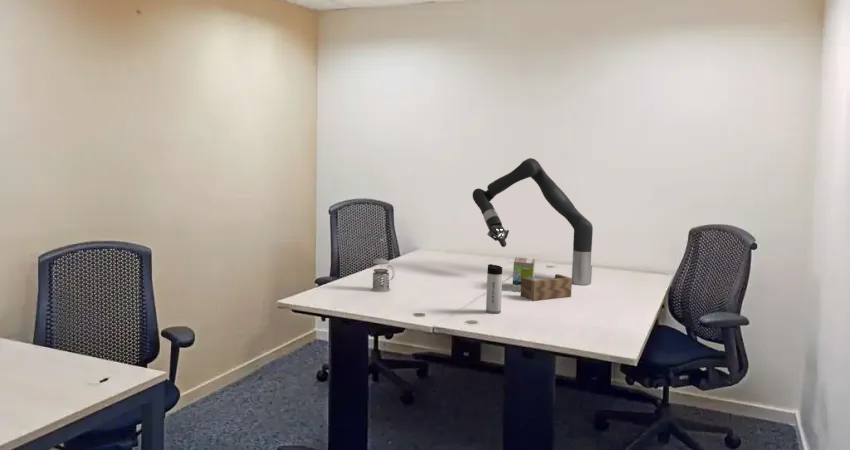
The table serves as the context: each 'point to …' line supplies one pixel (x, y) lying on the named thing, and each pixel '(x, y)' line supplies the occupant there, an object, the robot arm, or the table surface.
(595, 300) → the table surface
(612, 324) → the table surface
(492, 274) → the travel mug
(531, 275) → the tea box
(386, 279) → the french press
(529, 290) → the display nook
